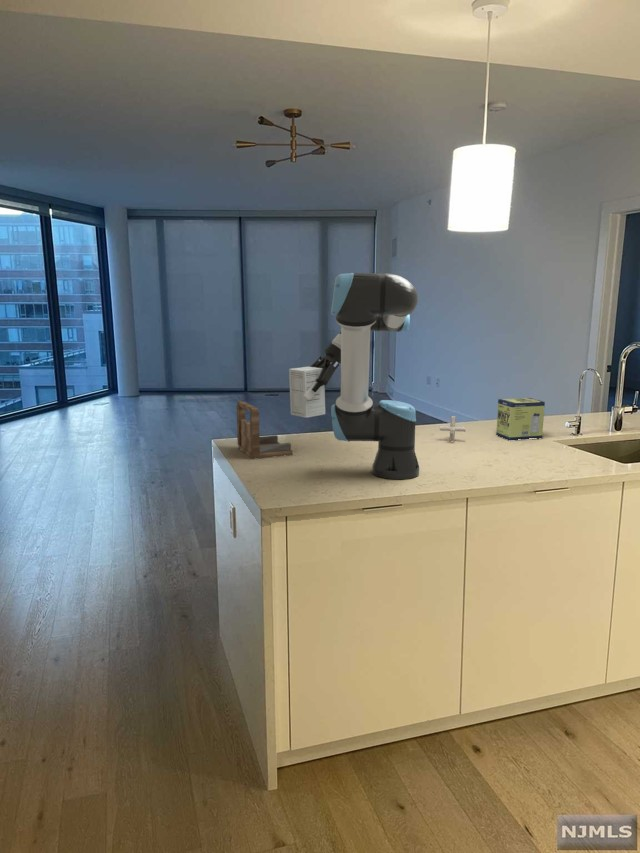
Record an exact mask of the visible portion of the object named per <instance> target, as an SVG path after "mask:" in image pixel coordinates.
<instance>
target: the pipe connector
mask: <svg viewBox="0 0 640 853" xmlns="http://www.w3.org/2000/svg"><path fill="white" fill-rule="evenodd" d="M439 431H440V432H441V431H442V432H449V442H450V441H454V442H455V435H456V434H455V433H456V432H467V431H466V426H456V416H450V426H448V425H440V426H439Z"/></svg>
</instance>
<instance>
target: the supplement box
mask: <svg viewBox="0 0 640 853" xmlns="http://www.w3.org/2000/svg"><path fill="white" fill-rule="evenodd" d="M322 369H323V368H316V367H310V366H303V367H292V368H289V369H288V373H289V374H288V376H289V380H288V381H289V402H290V404H289V405H290V415H291V416H296V417H301V418H305V419H306V418H312V417H318V416H324V415H326V393H325V392H326V390H325V385H323V386H321V387H320V388H319V390H318V391H317V392H316V393H315V394H314V395H313V397H312V398H311V399H310V400H308V399H307V398H306V397H305V396H304V394H305V393H306V391H307V390H308V389H309V388H310V387H311V386H312V384H313V383H314V382H315V381H316V379H318V378H319V375H320V373H321V371H322ZM316 382H317V381H316Z"/></svg>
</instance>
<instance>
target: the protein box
mask: <svg viewBox="0 0 640 853" xmlns="http://www.w3.org/2000/svg"><path fill="white" fill-rule="evenodd" d="M545 403H546V402H545V401H542V400H540V399H536V398H531V397H523V398H519V397H518V398H517V397H516V398H498V400H497V416H496V430H495V431H496V432H495V436H496V435H498V436H497V437H499V436H500V437H499V438H501V437H503V438H502V439H504V438H505V439H504V440H506V439H508V440H507V441H509V440H515V441H519V440H518V439H529V438H542V439H543V432H544V430H543V428H544V419H545V418H544V416H545V405H546V404H545Z"/></svg>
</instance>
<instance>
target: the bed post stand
mask: <svg viewBox="0 0 640 853" xmlns="http://www.w3.org/2000/svg"><path fill="white" fill-rule="evenodd" d="M236 401H237V403H236V426H237V428H236V431H237V434H236V435H237V445H238V449H239V450H240V449H241V450H242V451H241V450H240V451H241V452H243V451H244V452H245V453H244V452H243V453H244V454H246V455H247V456H248V455H249V456H248V457H250V458H251V457H252V458H253V459H252V458H251V459H252V460H256V459H255V458H259V459H265V458H264V457H268V458H274V457H273V456H277V457H285V456H284V455H286V456H292V455H294V454H293V452H294V451H293V450H292V443H291V442H283V443H282V442H281V443H280V442H279V441H278V437H279V436H278V435H276V434H274V435H267V436H266V435H265V436H260V412H259V407H256V406H255V405H252V404H249V403H248V402H246V401H243V400H236ZM246 411H248V412H249V421H248V420H246Z"/></svg>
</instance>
